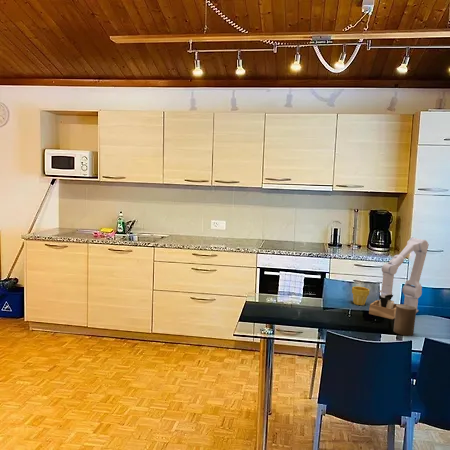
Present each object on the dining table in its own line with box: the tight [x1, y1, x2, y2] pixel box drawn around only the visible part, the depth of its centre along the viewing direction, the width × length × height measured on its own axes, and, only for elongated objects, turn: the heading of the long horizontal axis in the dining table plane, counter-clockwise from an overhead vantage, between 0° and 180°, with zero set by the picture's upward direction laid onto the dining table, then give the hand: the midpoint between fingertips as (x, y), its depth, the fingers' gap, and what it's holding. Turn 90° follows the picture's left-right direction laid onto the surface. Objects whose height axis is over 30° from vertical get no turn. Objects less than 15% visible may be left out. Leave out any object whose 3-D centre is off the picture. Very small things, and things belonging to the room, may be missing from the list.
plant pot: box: [351, 285, 370, 306], centre depth 288 cm, size 10×10×10 cm
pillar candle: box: [393, 303, 417, 337], centre depth 238 cm, size 10×10×15 cm
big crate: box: [368, 299, 398, 320], centre depth 270 cm, size 14×14×6 cm
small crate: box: [378, 299, 395, 309], centre depth 269 cm, size 5×7×6 cm
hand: (384, 307), depth 270 cm, fingers closed on small crate, 5 cm apart
